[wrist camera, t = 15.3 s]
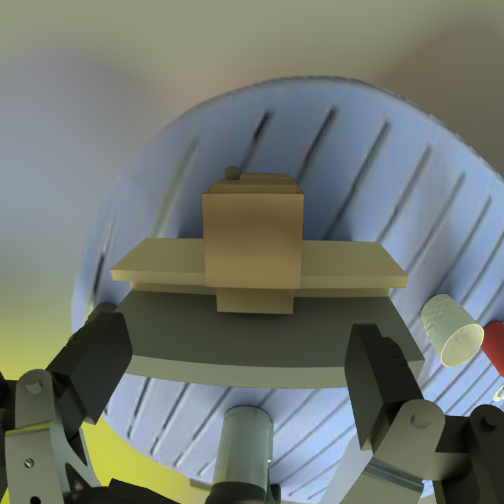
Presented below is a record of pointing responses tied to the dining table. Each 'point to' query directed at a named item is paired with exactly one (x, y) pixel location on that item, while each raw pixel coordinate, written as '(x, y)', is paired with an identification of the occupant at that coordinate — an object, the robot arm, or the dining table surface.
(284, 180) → the cabinet
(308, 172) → the dining table surface
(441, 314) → the white cup
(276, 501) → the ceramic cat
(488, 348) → the beer can
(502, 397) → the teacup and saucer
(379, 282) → the wall board
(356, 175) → the dining table surface
